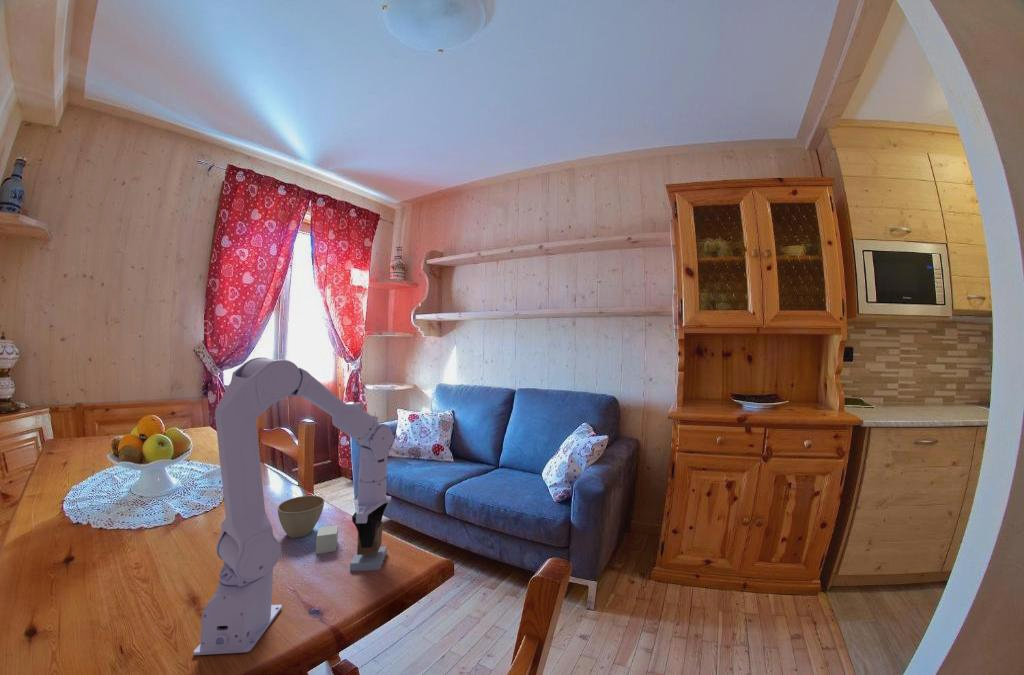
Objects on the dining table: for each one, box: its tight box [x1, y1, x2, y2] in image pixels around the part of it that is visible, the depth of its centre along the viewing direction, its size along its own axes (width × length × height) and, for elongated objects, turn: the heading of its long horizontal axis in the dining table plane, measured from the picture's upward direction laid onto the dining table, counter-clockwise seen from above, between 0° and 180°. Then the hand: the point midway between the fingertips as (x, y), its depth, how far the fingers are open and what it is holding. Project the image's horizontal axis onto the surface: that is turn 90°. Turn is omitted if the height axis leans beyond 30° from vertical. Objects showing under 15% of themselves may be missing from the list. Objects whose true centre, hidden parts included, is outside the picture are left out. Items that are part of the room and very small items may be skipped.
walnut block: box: [356, 520, 383, 555], centre depth 77 cm, size 4×4×5 cm
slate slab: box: [349, 545, 388, 572], centre depth 77 cm, size 6×6×2 cm
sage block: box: [315, 524, 339, 555], centre depth 82 cm, size 4×4×4 cm
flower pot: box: [277, 495, 325, 539], centre depth 88 cm, size 10×10×7 cm
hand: (369, 541), depth 77 cm, fingers closed on walnut block, 4 cm apart
